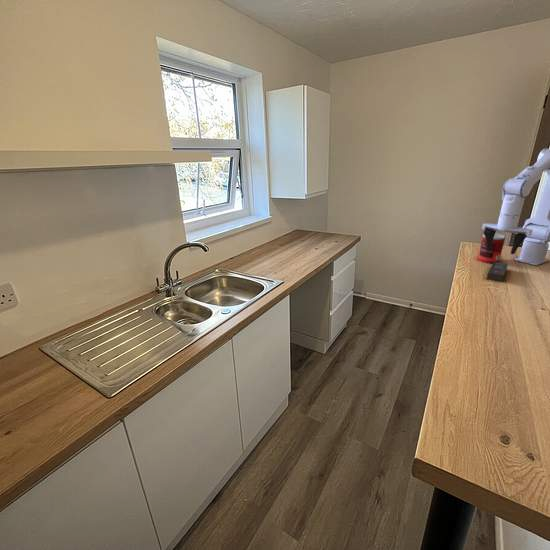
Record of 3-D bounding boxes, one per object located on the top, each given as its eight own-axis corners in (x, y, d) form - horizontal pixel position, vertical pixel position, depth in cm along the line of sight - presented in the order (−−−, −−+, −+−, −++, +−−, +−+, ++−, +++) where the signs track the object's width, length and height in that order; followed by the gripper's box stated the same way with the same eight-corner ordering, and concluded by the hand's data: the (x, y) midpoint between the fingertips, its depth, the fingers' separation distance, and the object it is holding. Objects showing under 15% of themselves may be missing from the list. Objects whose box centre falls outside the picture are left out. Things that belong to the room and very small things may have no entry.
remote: (492, 267, 121) (494, 261, 120) (506, 270, 118) (508, 263, 117) (486, 279, 112) (488, 272, 111) (501, 281, 109) (503, 274, 108)
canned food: (497, 258, 131) (503, 233, 126) (500, 264, 124) (507, 238, 120) (476, 256, 134) (481, 232, 129) (479, 262, 127) (484, 237, 123)
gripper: (482, 213, 109) (474, 249, 114) (531, 219, 98) (520, 258, 103) (490, 210, 112) (482, 245, 118) (538, 215, 101) (527, 253, 107)
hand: (500, 251), depth 111 cm, fingers open, 7 cm apart
